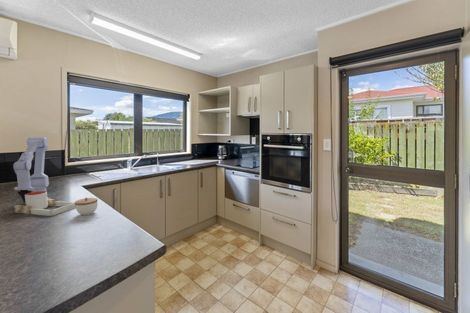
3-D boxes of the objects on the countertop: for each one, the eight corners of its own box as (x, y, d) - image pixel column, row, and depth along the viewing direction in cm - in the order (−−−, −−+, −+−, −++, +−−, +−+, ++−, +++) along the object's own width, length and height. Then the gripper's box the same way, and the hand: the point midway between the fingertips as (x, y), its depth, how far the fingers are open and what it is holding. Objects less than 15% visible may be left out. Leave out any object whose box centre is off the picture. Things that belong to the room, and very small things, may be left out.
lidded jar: (83, 210, 131) (82, 195, 130) (102, 210, 131) (101, 194, 130) (71, 217, 120) (69, 200, 119) (91, 216, 121) (90, 200, 120)
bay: (14, 212, 129) (13, 205, 128) (42, 204, 143) (41, 198, 143) (29, 213, 126) (28, 207, 126) (55, 205, 141) (55, 199, 140)
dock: (31, 214, 126) (30, 208, 125) (57, 205, 140) (57, 201, 140) (51, 215, 122) (51, 210, 122) (76, 207, 137) (76, 202, 136)
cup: (29, 213, 127) (28, 196, 126) (24, 210, 133) (22, 194, 132) (51, 208, 136) (49, 192, 135) (44, 205, 141) (43, 190, 140)
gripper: (7, 181, 132) (10, 203, 134) (25, 182, 129) (27, 204, 130) (21, 179, 139) (23, 199, 140) (38, 179, 136) (40, 201, 137)
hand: (26, 201), depth 136 cm, fingers closed
